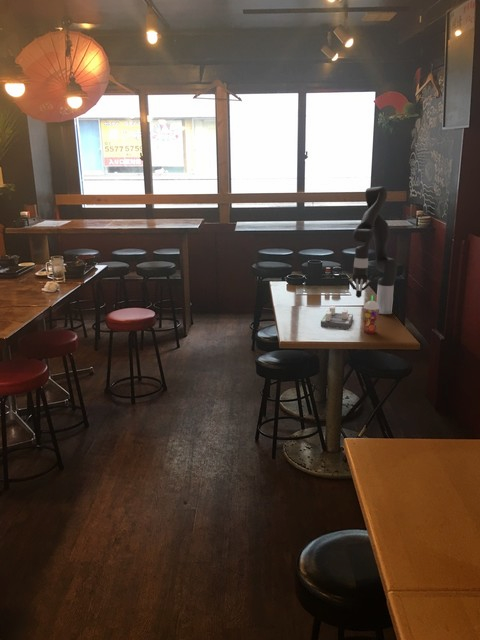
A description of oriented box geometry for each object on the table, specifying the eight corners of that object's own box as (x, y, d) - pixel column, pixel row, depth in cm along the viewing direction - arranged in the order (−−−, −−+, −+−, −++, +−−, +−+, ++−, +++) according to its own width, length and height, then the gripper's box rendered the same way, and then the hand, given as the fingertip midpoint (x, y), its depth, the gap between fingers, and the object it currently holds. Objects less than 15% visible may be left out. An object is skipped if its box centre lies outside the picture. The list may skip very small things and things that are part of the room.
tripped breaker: (347, 317, 314) (347, 310, 313) (346, 319, 309) (346, 312, 308) (343, 316, 314) (343, 309, 313) (341, 318, 310) (342, 311, 309)
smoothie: (366, 328, 304) (368, 292, 298) (380, 331, 299) (383, 295, 293) (358, 332, 298) (361, 295, 292) (373, 335, 293) (376, 298, 287)
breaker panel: (352, 319, 321) (353, 314, 320) (348, 329, 303) (348, 323, 302) (326, 317, 325) (327, 312, 324) (320, 326, 307) (320, 321, 306)
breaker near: (331, 318, 310) (331, 311, 309) (329, 321, 306) (330, 314, 305) (327, 318, 311) (327, 311, 310) (325, 320, 306) (325, 313, 305)
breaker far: (334, 312, 322) (335, 306, 321) (333, 315, 318) (333, 308, 316) (330, 312, 323) (331, 305, 322) (329, 314, 318) (329, 307, 317)
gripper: (374, 265, 303) (371, 296, 308) (349, 264, 307) (347, 294, 312) (372, 268, 296) (370, 299, 301) (347, 266, 300) (345, 297, 305)
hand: (358, 297), depth 306 cm, fingers closed
